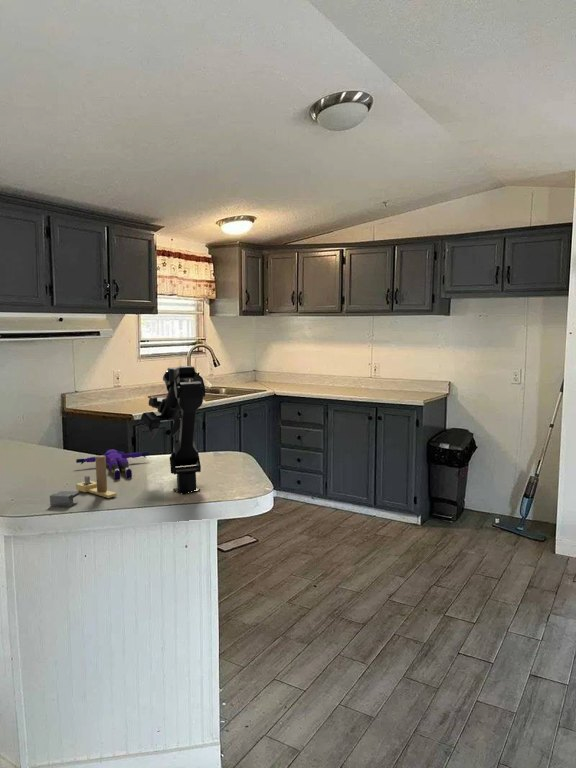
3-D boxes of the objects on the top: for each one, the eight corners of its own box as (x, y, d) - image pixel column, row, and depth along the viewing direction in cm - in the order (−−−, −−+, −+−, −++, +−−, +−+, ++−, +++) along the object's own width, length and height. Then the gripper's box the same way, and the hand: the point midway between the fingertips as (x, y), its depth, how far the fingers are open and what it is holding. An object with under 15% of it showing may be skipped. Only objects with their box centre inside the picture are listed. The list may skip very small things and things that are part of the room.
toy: (162, 476, 199) (146, 457, 226) (162, 461, 198) (145, 444, 225) (81, 486, 188) (74, 465, 215) (81, 470, 187) (73, 451, 214)
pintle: (97, 490, 179) (96, 476, 179) (83, 493, 177) (83, 479, 176) (91, 487, 183) (90, 474, 182) (78, 490, 180) (77, 476, 179)
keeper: (61, 499, 170) (61, 489, 170) (80, 500, 169) (79, 490, 169) (50, 506, 164) (49, 495, 163) (69, 507, 163) (68, 496, 163)
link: (76, 489, 179) (74, 453, 178) (90, 486, 183) (88, 450, 182) (105, 498, 169) (103, 460, 168) (119, 494, 173) (118, 457, 172)
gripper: (182, 386, 203) (169, 421, 209) (138, 389, 189) (126, 427, 194) (200, 403, 197) (186, 439, 203) (156, 407, 183) (143, 446, 189)
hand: (161, 437), depth 197 cm, fingers open, 9 cm apart
